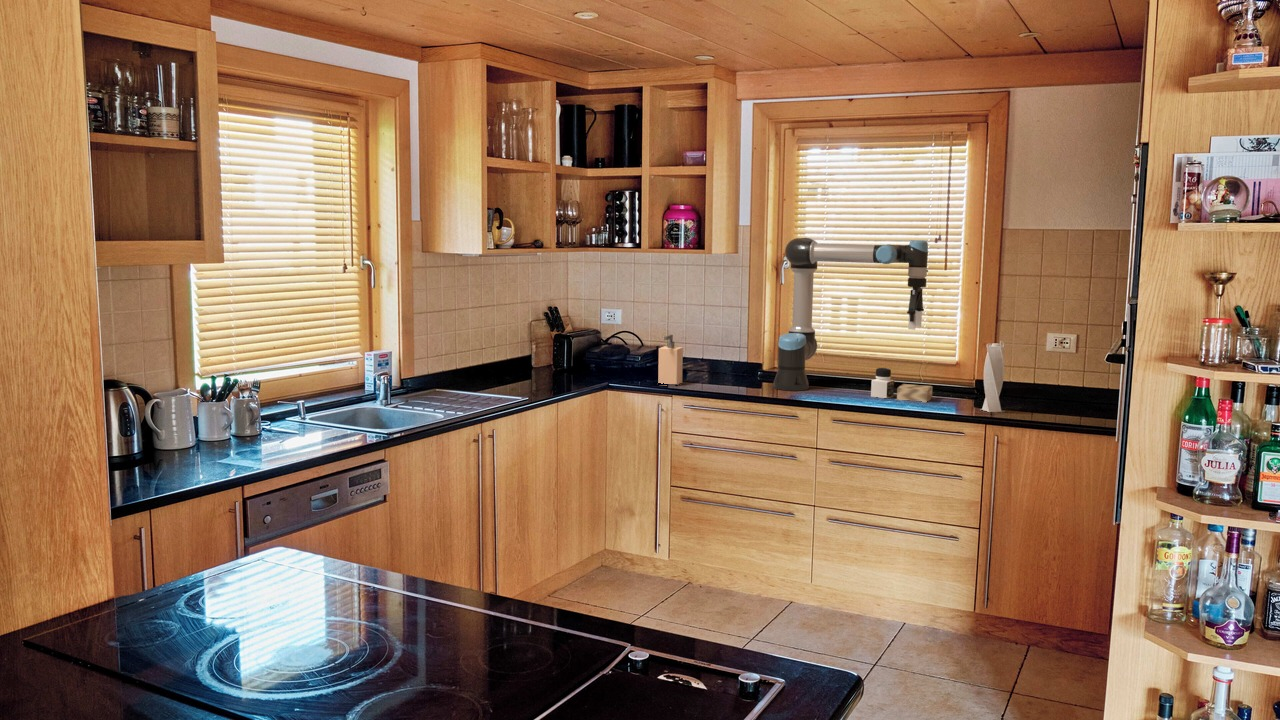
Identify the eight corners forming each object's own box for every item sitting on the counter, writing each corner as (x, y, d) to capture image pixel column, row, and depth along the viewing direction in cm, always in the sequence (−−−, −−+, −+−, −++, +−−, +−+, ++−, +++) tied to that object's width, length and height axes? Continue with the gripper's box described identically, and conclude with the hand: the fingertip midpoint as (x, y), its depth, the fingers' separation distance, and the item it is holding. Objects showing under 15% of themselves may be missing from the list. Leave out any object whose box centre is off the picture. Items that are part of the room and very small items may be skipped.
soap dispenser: (663, 382, 449) (664, 333, 446) (682, 383, 446) (683, 334, 443) (655, 386, 437) (655, 336, 434) (673, 387, 434) (674, 337, 431)
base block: (896, 400, 410) (897, 387, 409) (902, 395, 420) (903, 383, 420) (926, 402, 404) (927, 390, 404) (931, 398, 415) (932, 385, 414)
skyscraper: (1007, 413, 383) (1012, 340, 379) (988, 414, 381) (993, 340, 377) (995, 409, 391) (1000, 338, 387) (976, 410, 389) (981, 338, 386)
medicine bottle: (886, 398, 412) (888, 370, 410) (870, 396, 416) (871, 368, 415) (893, 396, 418) (895, 368, 416) (877, 394, 422) (879, 366, 420)
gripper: (921, 279, 407) (918, 331, 410) (931, 276, 430) (929, 325, 432) (902, 278, 411) (899, 330, 413) (913, 276, 433) (911, 324, 436)
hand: (914, 328), depth 423 cm, fingers open, 13 cm apart
